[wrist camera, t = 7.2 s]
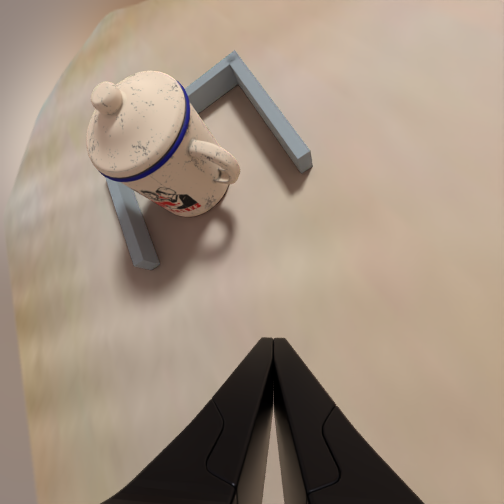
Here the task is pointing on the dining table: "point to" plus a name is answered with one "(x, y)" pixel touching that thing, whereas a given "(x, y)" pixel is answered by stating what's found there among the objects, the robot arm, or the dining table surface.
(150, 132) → the teacup with lid
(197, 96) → the dock
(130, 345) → the dining table surface
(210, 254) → the dining table surface
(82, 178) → the dining table surface
